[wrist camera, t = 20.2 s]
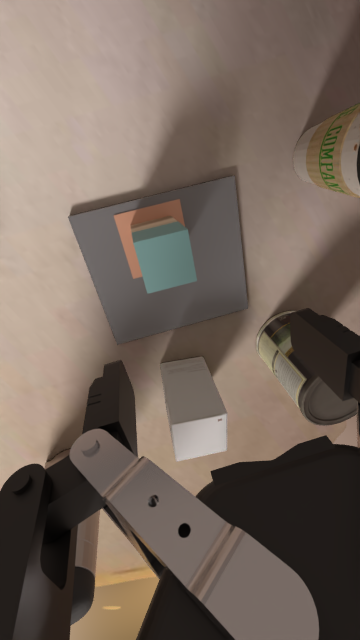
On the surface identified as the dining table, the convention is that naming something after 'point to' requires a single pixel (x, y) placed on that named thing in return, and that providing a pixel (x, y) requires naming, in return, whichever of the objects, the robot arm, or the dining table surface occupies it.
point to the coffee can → (300, 375)
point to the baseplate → (207, 249)
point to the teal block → (164, 256)
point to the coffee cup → (332, 153)
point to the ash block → (152, 223)
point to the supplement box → (193, 409)
